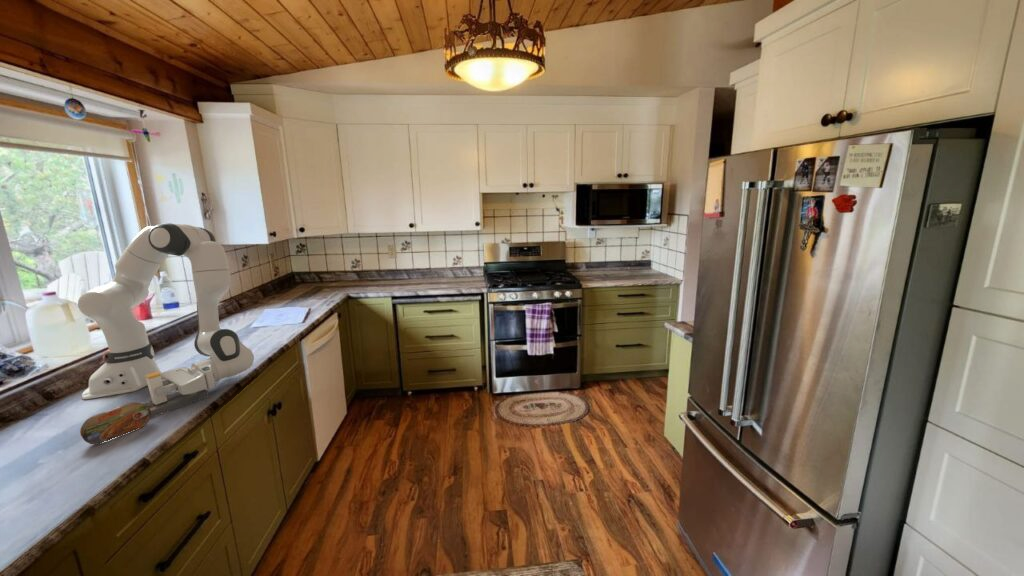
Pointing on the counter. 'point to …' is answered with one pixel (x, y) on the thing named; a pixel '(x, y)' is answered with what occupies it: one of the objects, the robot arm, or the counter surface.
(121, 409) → the tin
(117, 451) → the counter surface
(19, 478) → the counter surface
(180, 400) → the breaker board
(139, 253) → the robot arm
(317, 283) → the counter surface
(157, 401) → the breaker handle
